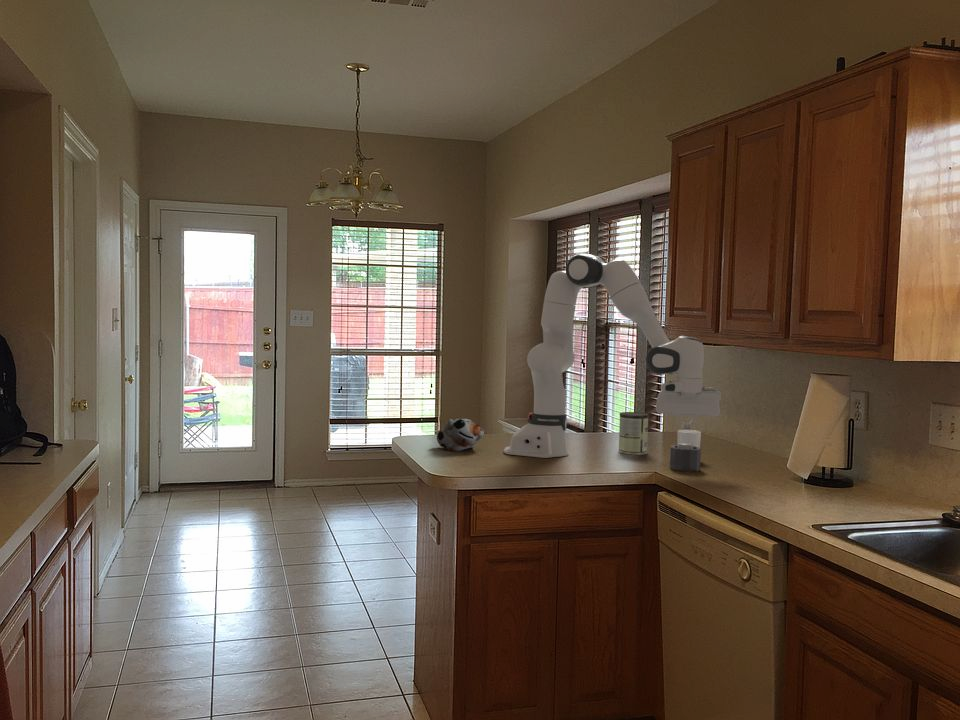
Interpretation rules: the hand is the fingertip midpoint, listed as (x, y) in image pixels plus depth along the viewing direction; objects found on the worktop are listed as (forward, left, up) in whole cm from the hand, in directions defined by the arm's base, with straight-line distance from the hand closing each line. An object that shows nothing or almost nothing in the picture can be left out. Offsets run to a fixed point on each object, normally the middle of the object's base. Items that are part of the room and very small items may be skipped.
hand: (686, 428), depth 272 cm
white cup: (+2, +18, -13) cm, 22 cm away
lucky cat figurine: (-77, +11, -13) cm, 79 cm away
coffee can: (-17, +27, -13) cm, 35 cm away
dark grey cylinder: (0, 0, -13) cm, 13 cm away
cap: (0, 0, -9) cm, 9 cm away
